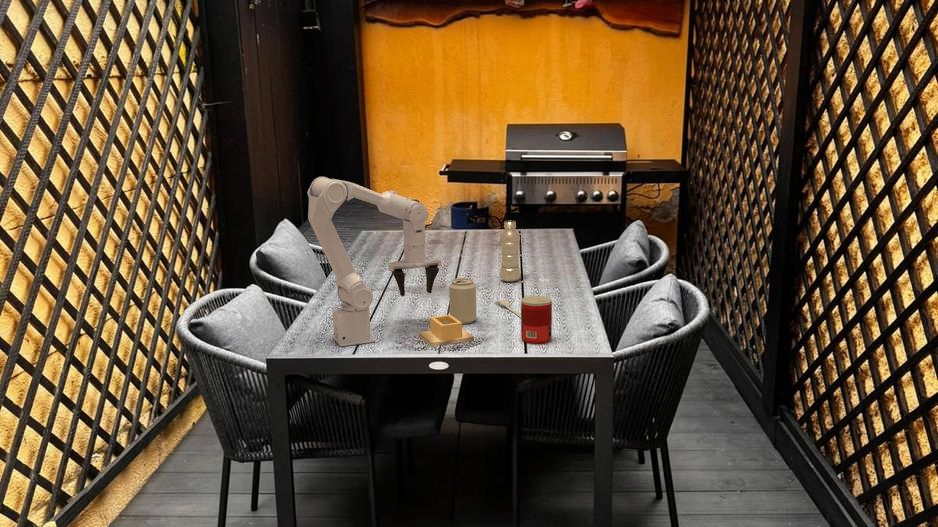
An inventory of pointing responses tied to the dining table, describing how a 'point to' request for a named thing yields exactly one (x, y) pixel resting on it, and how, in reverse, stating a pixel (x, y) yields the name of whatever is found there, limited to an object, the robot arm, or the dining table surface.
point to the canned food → (536, 319)
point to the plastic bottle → (510, 252)
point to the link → (446, 327)
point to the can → (463, 300)
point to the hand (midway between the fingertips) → (415, 293)
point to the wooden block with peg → (435, 341)
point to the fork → (507, 303)
